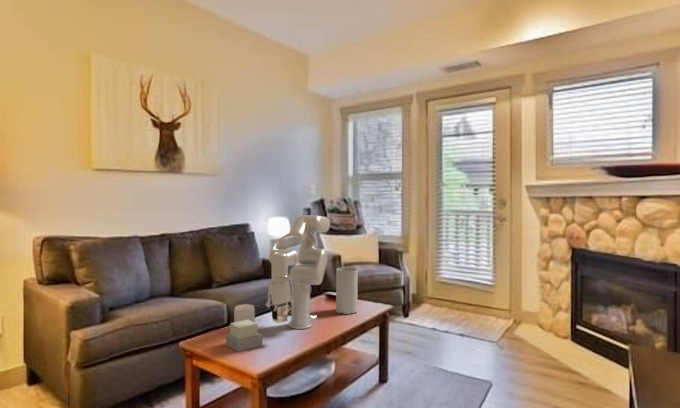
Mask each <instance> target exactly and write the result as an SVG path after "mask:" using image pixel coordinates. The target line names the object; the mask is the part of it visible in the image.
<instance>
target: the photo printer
mask: <svg viewBox="0 0 680 408" xmlns="http://www.w3.org/2000/svg"><path fill="white" fill-rule="evenodd" d="M255 313H256V309H255V306H254V305H253V304H248V303H242V304H239V305H235V306H234V312H233V317H234V318H233V319H234V320H233V321H234V322H239V321H243V320H250V321H252V322H254V323H256V321H255V320H256V317H255V316H256V314H255ZM234 322H233V323H234Z"/></svg>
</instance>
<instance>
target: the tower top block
mask: <svg viewBox="0 0 680 408" xmlns="http://www.w3.org/2000/svg"><path fill="white" fill-rule="evenodd" d="M229 325H230V326H229V328H230V330H229V333H230V334H231V335H233V336H234V337H236V338H238V339H244V338H248V337H252V336H256V335H257V333H258V323H256V322H255V323H254V322H252V321H250V320H243V321H239V322H230V323H229Z"/></svg>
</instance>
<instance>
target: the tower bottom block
mask: <svg viewBox="0 0 680 408" xmlns="http://www.w3.org/2000/svg"><path fill="white" fill-rule="evenodd" d="M225 344H226V345H227V346H229V347H230V348H231V349H233V350H234V351H236V352H237V353H240V352H243V351H247V350H251V349H255V348H258V347H259V348H260V347H262V346H263V334H261V333H258V332H257V335H256V336H252V337H248V338H244V339H238V338H236V337H234V336H233V335H231V334H230V332H229V333H226V334H225Z"/></svg>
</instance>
